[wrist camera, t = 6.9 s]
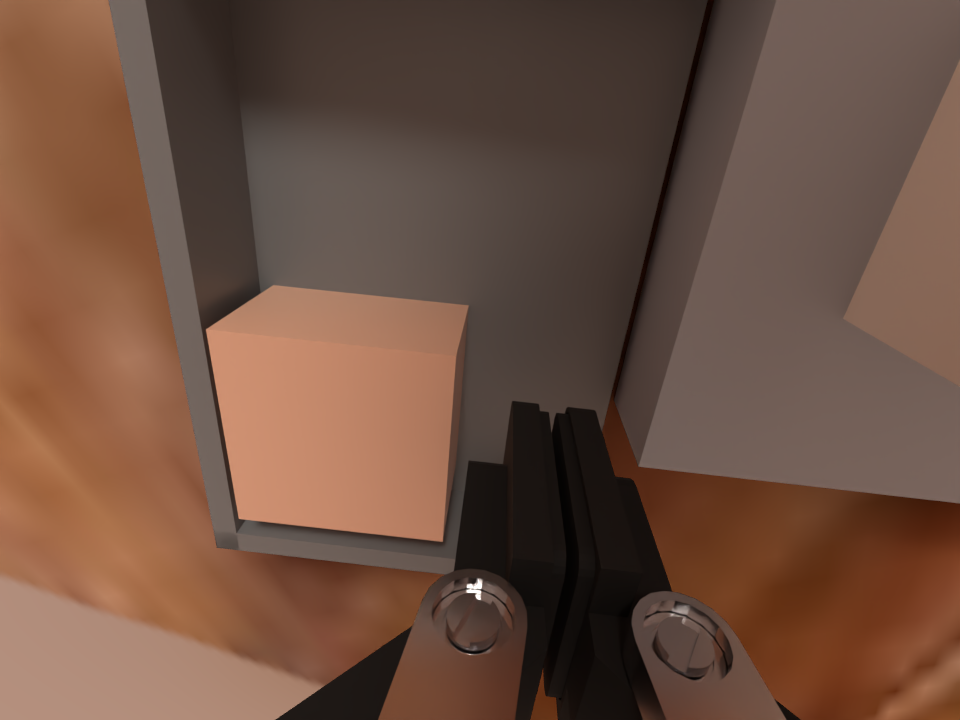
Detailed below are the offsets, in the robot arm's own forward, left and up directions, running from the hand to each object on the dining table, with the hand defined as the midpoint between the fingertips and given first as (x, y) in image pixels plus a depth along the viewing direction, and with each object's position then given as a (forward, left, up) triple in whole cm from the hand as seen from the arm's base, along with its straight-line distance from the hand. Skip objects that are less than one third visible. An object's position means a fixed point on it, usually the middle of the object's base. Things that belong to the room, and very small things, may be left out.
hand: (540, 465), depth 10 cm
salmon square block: (0, -4, 0) cm, 4 cm away
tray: (-3, -3, -4) cm, 6 cm away
